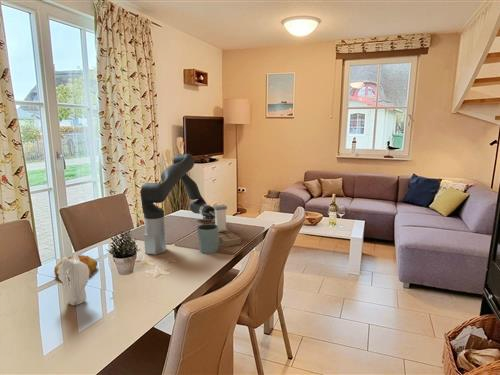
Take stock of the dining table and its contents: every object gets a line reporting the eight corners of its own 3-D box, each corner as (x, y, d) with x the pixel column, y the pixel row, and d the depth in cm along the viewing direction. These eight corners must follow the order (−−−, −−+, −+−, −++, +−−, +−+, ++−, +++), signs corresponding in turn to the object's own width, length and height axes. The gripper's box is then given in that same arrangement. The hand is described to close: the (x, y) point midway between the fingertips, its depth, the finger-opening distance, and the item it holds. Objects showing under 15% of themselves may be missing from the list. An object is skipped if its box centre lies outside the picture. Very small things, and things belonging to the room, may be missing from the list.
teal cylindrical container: (208, 256, 151) (207, 231, 149) (193, 251, 157) (192, 227, 155) (223, 249, 159) (222, 225, 157) (208, 244, 165) (207, 222, 163)
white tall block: (214, 230, 177) (213, 205, 174) (224, 228, 180) (223, 204, 177) (217, 232, 173) (216, 207, 171) (227, 230, 176) (226, 206, 173)
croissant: (60, 274, 139) (55, 256, 137) (99, 264, 143) (95, 247, 141) (52, 289, 125) (46, 270, 123) (95, 277, 130) (90, 259, 128)
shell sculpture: (82, 293, 118) (77, 246, 115) (93, 301, 113) (88, 252, 109) (58, 303, 112) (51, 253, 108) (68, 311, 107) (61, 260, 103)
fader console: (208, 234, 181) (208, 228, 180) (223, 231, 185) (223, 226, 184) (224, 247, 162) (224, 241, 161) (240, 243, 166) (240, 238, 165)
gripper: (196, 206, 188) (207, 213, 173) (217, 204, 194) (230, 210, 179) (197, 219, 189) (207, 227, 174) (218, 216, 195) (230, 223, 180)
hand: (219, 218), depth 177 cm, fingers closed
